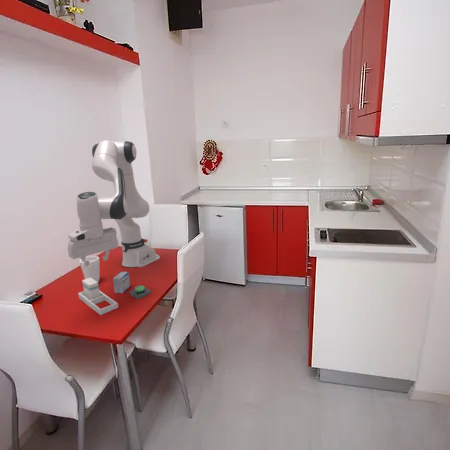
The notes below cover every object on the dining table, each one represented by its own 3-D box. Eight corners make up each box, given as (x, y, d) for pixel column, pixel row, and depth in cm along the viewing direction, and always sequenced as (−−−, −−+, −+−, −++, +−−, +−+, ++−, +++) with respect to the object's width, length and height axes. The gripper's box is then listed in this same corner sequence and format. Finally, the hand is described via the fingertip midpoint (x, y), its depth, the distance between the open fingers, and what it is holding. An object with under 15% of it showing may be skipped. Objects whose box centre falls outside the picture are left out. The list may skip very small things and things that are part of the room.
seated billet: (93, 294, 155) (90, 277, 153) (100, 300, 150) (98, 282, 147) (84, 297, 153) (81, 280, 150) (92, 303, 147) (89, 285, 145)
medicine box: (123, 295, 155) (121, 278, 153) (114, 294, 156) (112, 278, 154) (130, 287, 163) (128, 271, 160) (122, 287, 164) (120, 271, 161)
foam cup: (83, 287, 164) (79, 264, 161) (83, 281, 172) (79, 258, 169) (103, 283, 168) (99, 260, 165) (101, 277, 176) (98, 254, 173)
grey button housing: (143, 291, 158) (142, 285, 157) (151, 296, 153) (150, 290, 152) (130, 296, 153) (129, 291, 152) (138, 301, 148) (137, 295, 148)
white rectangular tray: (95, 292, 158) (94, 287, 158) (118, 309, 142) (117, 303, 141) (79, 299, 153) (78, 293, 152) (100, 316, 137) (99, 310, 136)
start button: (142, 292, 156) (141, 284, 155) (147, 295, 153) (146, 287, 152) (134, 295, 153) (133, 287, 152) (138, 298, 150) (137, 290, 149)
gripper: (112, 225, 143) (115, 254, 147) (64, 235, 130) (69, 267, 133) (118, 227, 139) (122, 257, 143) (69, 238, 125) (75, 271, 129)
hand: (96, 262), depth 138 cm, fingers open, 7 cm apart
